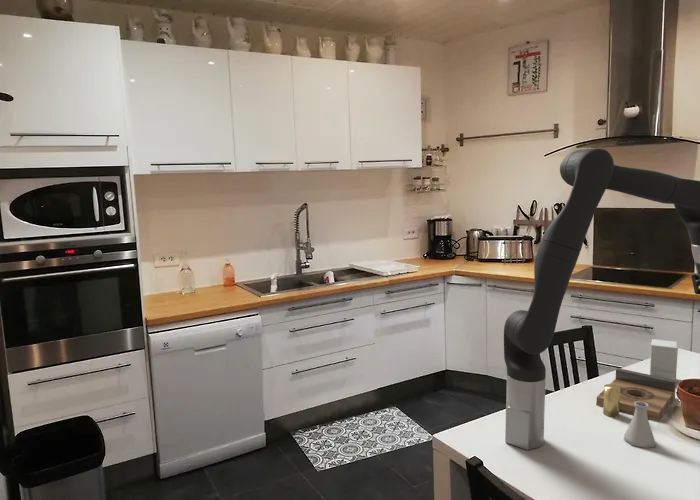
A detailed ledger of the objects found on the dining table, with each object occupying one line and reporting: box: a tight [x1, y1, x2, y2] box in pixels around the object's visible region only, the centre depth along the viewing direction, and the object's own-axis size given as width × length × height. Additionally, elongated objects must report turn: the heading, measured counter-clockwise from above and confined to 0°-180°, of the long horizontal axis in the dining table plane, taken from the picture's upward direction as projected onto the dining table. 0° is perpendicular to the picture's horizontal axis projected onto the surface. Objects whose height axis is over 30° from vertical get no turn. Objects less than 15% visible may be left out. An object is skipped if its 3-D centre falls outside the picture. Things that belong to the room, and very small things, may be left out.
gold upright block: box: [602, 383, 620, 418], centre depth 143 cm, size 4×4×8 cm
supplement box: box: [649, 338, 679, 381], centre depth 166 cm, size 7×7×13 cm
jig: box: [595, 367, 677, 422], centre depth 151 cm, size 20×16×6 cm
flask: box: [623, 401, 656, 449], centre depth 128 cm, size 7×7×10 cm
